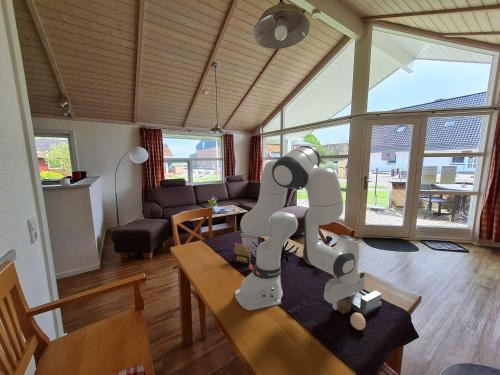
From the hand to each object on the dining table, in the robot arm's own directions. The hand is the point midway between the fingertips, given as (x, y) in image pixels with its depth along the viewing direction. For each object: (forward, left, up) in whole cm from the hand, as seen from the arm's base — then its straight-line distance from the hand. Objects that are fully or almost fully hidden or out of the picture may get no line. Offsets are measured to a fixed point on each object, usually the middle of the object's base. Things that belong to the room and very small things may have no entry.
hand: (343, 305), depth 88 cm
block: (0, +1, -3) cm, 3 cm away
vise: (+10, +4, -2) cm, 11 cm away
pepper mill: (+23, +37, -3) cm, 44 cm away
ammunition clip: (-20, +56, -3) cm, 59 cm away
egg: (-3, -9, -3) cm, 10 cm away
